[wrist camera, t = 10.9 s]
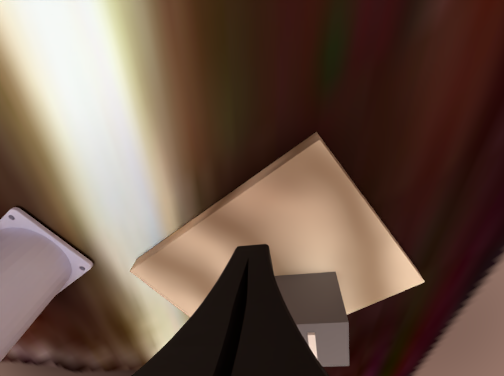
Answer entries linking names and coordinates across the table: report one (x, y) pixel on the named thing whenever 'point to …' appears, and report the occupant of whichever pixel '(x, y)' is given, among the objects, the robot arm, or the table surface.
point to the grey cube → (318, 314)
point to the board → (286, 234)
